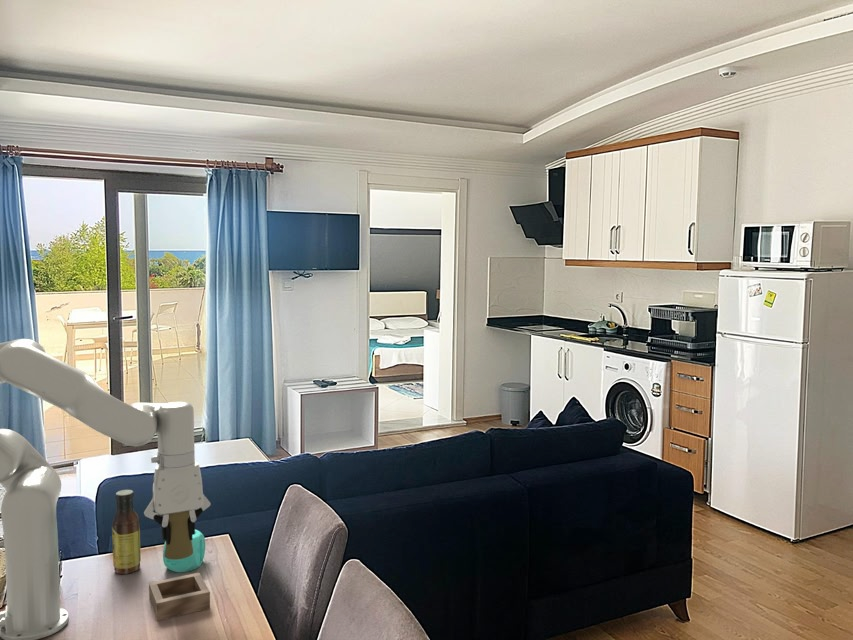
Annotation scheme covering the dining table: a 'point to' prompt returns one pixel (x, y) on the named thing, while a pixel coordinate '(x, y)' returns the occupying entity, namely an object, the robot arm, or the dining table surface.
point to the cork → (179, 537)
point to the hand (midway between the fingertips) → (178, 539)
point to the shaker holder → (179, 596)
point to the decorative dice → (191, 561)
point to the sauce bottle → (126, 535)
